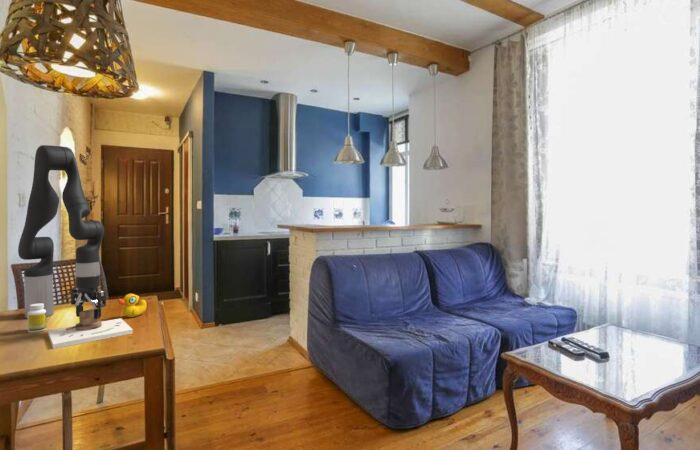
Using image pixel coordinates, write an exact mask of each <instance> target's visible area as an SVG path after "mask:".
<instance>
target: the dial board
mask: <svg viewBox="0 0 700 450" xmlns="http://www.w3.org/2000/svg"><path fill="white" fill-rule="evenodd" d="M101 321H102V325H101V326H100V327H98V328H95V329H90V330H76V329H75V328H73V329H71V330H66V328H70V327H73V326H74V325H72V326H67V327H60V328H53V329H49V330H47V336H48V338H49V341H50V344H51V347H52V349H54V350H55V349H59V348H65V347H69V346H74V345H80V344H86V343H90V342H95V341H101V340H105V339H112V338H115V337H120V336H126V335H130V334H131V335H132V334H133V333H134V332H133V331H134V330H133V328H132V327H131V326H130V325H129V324H128V323H127V322H126V321H125V320H123V318H120V317H119V318H115V319H108V320H101ZM111 337H112V338H111Z"/></svg>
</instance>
